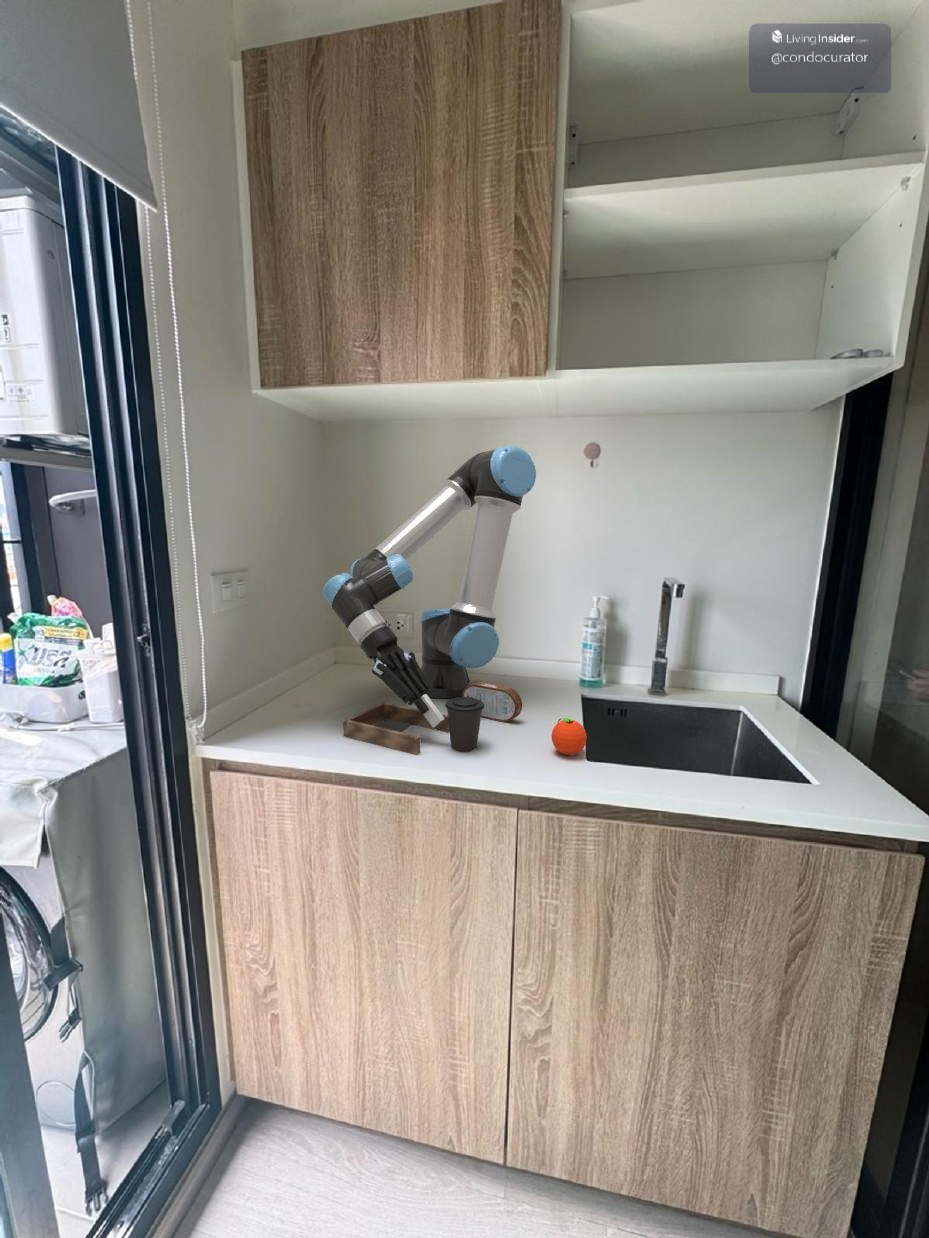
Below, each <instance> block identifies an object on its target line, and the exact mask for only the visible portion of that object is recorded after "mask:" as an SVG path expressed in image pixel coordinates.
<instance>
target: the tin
mask: <svg viewBox="0 0 929 1238" xmlns="http://www.w3.org/2000/svg"><path fill="white" fill-rule="evenodd" d="M467 696H468V697H473V698H475V699H478V700H480V701H482V702H483V704H484V705H485V707H484V708H483V709H482V714H481V718H484V719H489V720H493V721H497V722H502V723H508V722H510V721H513V720H514V719H516V718H517V717H519V715H521V713H522V710H523V702H522V698H521V696H520V694H519V693H518V692H517V690H515V688H513V687H512V686H509V685H504V684H501V683H500V684H499V683H493V682H488V681H485V680H484V681H482V680H473V681H472V682H470V684H469V685H468V686H467V687H466V688H465V689H464V690H463V694H462V696H461V697H467Z"/></svg>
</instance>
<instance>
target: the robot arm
mask: <svg viewBox="0 0 929 1238" xmlns="http://www.w3.org/2000/svg"><path fill="white" fill-rule="evenodd" d="M536 477H537V469H536V465H535V462H534V461H533V460H532V456H531V455H530V454H529V453H528V452H527V451H526V450H524V449H523V448H521V447H518V446H515V445H509V446H506V445H505V446H504V445H503V446H500V447H498V448H496V449H492V450H487V451H482V452H479V453H476V454H474V455H473V456H472V457H470V458H469V459H468V460H466V462H464V463H463V464H461V466H460V467H459V468H458V469H457V470H455V471H454V473H452V474H451V475H450V476H448V478H447V479H445V481H444V482H443V487H442V489H441V490H439V491H438V492H437V493H435V495H433V496H432V498H430V499H429V500H428V501H427V502H426V503H425V504H423V506H421V507H420V508H419V509H418V510H416V511H415V513H413V514H412V515H411V516H410V517H409V518H408V519H407V520H406V521H404V522H403V523H402V524H401V525H399V527H397V528H396V529H395V530H394V531H393V532H392V533H391V534H390V535H388V537H386V538H385V539H384V540H383V541H382V542H381V543H380V544H379V545H378V546H376V547H375V548H374V549H373V550H372V551H370V552H369V553H368V554H367V555H366V556H365V557H361V558H358V559H356V560H355V561H354V562H353V563H352V564H351V567H350V571H349V573H348V572H342V573H340V574H336V575H334V576H332V577H331V578H330V579H329V580H328V581H326V583H325V584H324V586H323V588H322V596H323V597H324V598H325V599H326V601H327V603H328V604H329V606H330V607H331V609H332V610H333V612H334V613H335V614H336V616H337V617H338V618H339V620H340V621H341V623H342V624H343V625H344V627H345V628H346V629H347V630H348V631H349V633H350V635H351V636H352V637H353V638H354V640H355V641H356V643H357V644H358V645H360V649H361V650H362V651H363V653H364V654H365V656H366V657H367V658H368V659H369V660H373V662H374V664H375V665H374V667H373V668H372V669H371V673H372V674H373V675H374V676H376V677H378V678H379V679H381V681H382V682H383V683H384V684H385V685H386V686H387V687H388V688H389V689H390V690H392V692H393V693H394V694H395V695H396V696H397V697H398V698H399V699H400V700H401V701H402V702H404V703H405V704H408V705H409V706H412V705H413V704H414V705H415V707H416V709H418V710H419V711H420V712H421V713H422V714H423V715H424V716H425V718H426V719H427V720H428V722H429V723H430V724H431V726H432V727H433V728H434V727H436V726H437V725H438V724H439V723H441V722H442V721H443V720H444V719H445V718H444V717H443V716H442V714H443V713H441V711H440V710H439V708H437V706H436V703H435V702H434V701H433V700H432V699H431V698H433V699H453V698H459V697H462V694H463V690H464V689H465V688H466V687H467V686H468V685H469V684H470V683H471V680H470V676H469V673H468V671H467V669H478V668H482V667H485V665H486V664H488V663H490V662H491V661H492V660H493V659H494V657H495V656H496V654H497V652H498V650H499V644H500V638H499V635H498V633H497V631H496V629H495V623H496V621H497V616H496V614H495V612H494V611H493V605H494V600H495V596H496V591H497V586H498V582H499V578H500V574H501V573H500V572H501V569H502V563H503V560H504V555H505V550H506V545H507V541H508V536H509V531H510V527H511V523H512V518H513V515H514V514H515V513H516V512H517V511H519V510H520V509H521V506H522V502H523V497H524V496H525V495H526V494H528V493H529V492H530V491H532V490H533V487H534V485H535V482H536V479H537V478H536ZM475 505H477V506H478V507H477V512H476V517H475V522H474V525H473V526H474V527H473V530H472V535H471V540H470V545H469V549H468V553H467V559H466V563H465V568H464V571H463V577H462V581H461V587H460V591H459V592H460V593H459V595H458V599H457V602H456V603H455V604H453V605H452V606H450V607H440V608H439V607H437V608H428V609H425V610H423V611H422V614H421V622H420V624H421V666H420V665H419V663H418V661H417V659H416V654H415V653H414V652H413V651H410V652H409V653H407V652H404V650H403V648H401V646H399V645H398V637H397V635H396V634H395V633H394V631H393V630H392V629H391V627H390V626H387V624H388V623H387V621H386V620H385V619H384V617H382V615H381V614H380V612H379V611H378V610H377V609H376V608H375V606H377V604H379V603H381V602H383V601H384V600H386V599H388V598H389V597H390V596H392V595H394V594H395V593H397V592H399V591H401V590H403V589H405V587H407V586H408V585H409V584H410V583H412V582H413V581H414V572H413V570H412V568H411V566H410V564H409V562H408V561H409V559H410V558H411V557H413V555H414V554H416V553H417V552H418V551H420V549H422V548H423V547H424V546H425V545H426V544H427V543H428V542H429V541H430V540H431V539H433V538H434V537H435V536H436V535H437V534H438V533H439V532H440V531H442V530H443V528H444V527H446V526H447V525H448V524H449V523H450V522H451V521H452V520H453V519H455V518H456V517H457V516H458V515H459V514H460V513H461V512H462V511H469V510H470V509H472V508H473V507H474V506H475Z"/></svg>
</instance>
